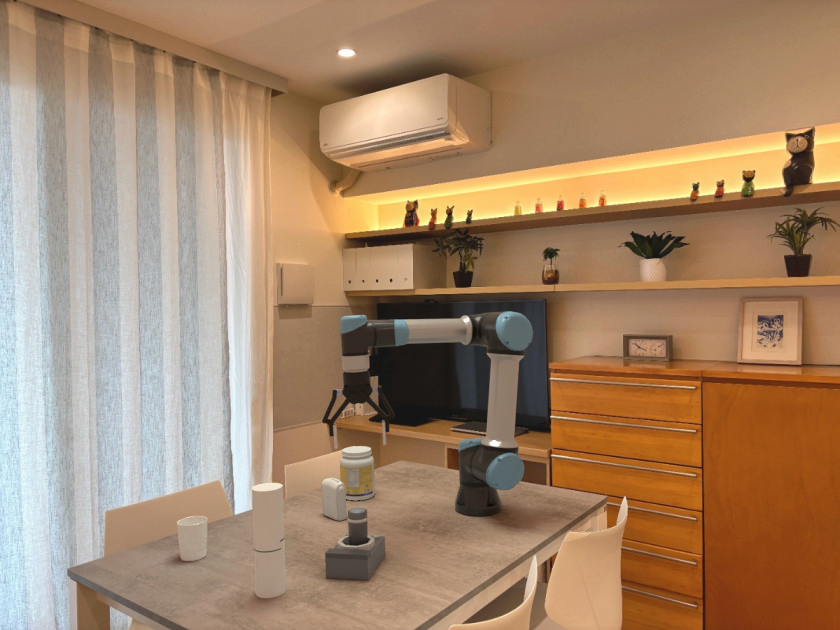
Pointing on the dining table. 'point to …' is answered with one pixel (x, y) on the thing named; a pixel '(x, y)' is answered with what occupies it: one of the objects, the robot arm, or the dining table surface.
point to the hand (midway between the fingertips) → (360, 446)
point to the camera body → (354, 558)
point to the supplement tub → (357, 472)
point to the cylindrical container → (269, 540)
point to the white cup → (192, 537)
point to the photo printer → (334, 499)
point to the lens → (357, 526)
